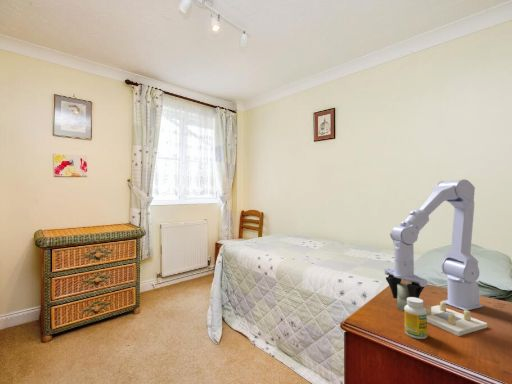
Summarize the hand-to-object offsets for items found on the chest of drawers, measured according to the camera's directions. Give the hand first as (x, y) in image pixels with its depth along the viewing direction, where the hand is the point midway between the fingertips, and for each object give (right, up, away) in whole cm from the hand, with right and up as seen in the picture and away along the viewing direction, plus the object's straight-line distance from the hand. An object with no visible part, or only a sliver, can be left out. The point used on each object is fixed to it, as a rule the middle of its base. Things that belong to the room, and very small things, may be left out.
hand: (404, 301), depth 89 cm
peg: (0, -3, 0) cm, 3 cm away
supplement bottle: (-6, -2, -17) cm, 18 cm away
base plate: (+8, -2, -9) cm, 12 cm away
